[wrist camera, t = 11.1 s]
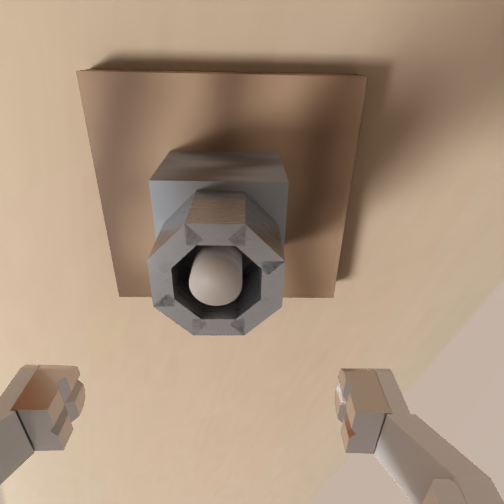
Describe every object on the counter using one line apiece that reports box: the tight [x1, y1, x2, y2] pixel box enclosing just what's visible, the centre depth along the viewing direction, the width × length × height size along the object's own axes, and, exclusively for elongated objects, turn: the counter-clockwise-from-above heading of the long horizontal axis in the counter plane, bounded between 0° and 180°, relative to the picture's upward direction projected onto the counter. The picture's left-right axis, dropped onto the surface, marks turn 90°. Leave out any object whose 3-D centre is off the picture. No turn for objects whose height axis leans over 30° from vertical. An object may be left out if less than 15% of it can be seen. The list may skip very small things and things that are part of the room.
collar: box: [147, 191, 285, 335], centre depth 18 cm, size 6×6×4 cm
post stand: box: [76, 69, 368, 306], centre depth 22 cm, size 17×16×12 cm
